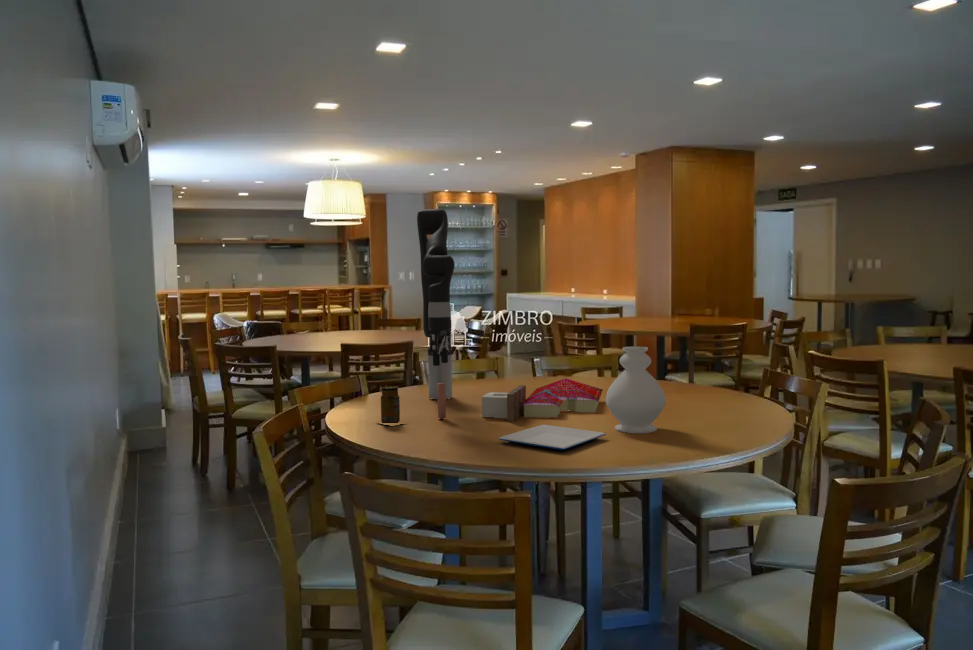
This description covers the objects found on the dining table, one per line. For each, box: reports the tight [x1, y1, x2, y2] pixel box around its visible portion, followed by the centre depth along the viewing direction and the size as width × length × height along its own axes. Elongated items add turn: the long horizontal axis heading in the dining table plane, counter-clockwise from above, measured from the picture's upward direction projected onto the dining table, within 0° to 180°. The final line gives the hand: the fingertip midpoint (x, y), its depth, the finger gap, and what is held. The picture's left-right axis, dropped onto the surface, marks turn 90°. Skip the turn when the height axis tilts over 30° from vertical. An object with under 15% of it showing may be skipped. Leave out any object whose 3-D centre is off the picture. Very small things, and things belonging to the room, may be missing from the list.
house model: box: [520, 377, 604, 418], centre depth 261 cm, size 38×25×10 cm
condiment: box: [380, 385, 401, 423], centre depth 239 cm, size 7×8×12 cm
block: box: [481, 391, 509, 419], centre depth 250 cm, size 10×10×7 cm
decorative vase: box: [605, 346, 667, 434], centre depth 223 cm, size 18×18×25 cm
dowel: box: [437, 383, 447, 419], centre depth 245 cm, size 3×3×12 cm
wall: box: [506, 384, 527, 423], centre depth 248 cm, size 20×2×9 cm, turn 165°
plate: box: [498, 424, 607, 451], centre depth 209 cm, size 22×22×2 cm
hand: (440, 364), depth 244 cm, fingers open, 8 cm apart
